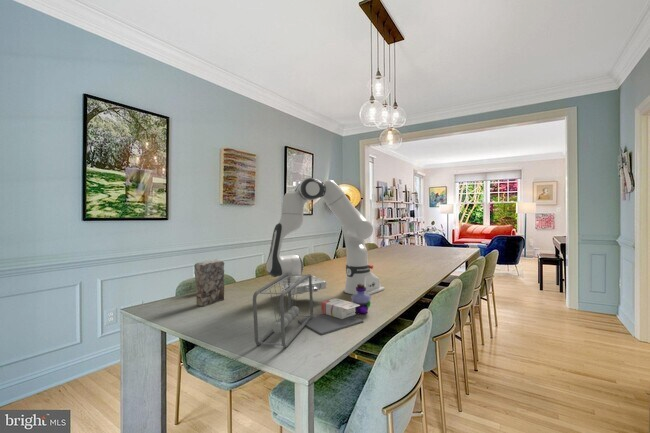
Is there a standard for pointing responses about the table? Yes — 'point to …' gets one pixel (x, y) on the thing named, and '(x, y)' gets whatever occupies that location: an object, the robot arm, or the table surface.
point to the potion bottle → (361, 300)
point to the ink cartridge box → (338, 308)
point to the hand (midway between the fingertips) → (315, 290)
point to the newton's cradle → (283, 309)
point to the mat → (329, 323)
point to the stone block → (209, 282)
